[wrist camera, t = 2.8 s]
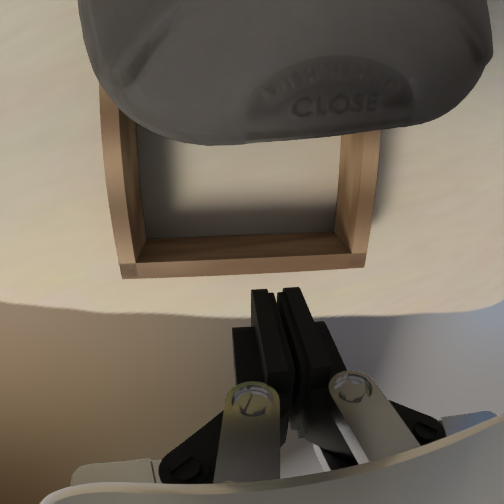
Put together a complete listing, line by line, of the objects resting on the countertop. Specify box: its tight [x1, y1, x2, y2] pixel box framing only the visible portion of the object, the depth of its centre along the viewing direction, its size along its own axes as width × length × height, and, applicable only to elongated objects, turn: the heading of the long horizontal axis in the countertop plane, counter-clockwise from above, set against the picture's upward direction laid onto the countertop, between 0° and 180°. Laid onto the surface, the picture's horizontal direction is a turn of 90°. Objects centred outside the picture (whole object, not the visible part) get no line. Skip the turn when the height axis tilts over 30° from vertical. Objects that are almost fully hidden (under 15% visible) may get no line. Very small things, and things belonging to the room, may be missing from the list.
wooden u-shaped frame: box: [99, 82, 381, 279], centre depth 19 cm, size 22×17×4 cm
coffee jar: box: [78, 0, 493, 146], centre depth 11 cm, size 10×8×19 cm
